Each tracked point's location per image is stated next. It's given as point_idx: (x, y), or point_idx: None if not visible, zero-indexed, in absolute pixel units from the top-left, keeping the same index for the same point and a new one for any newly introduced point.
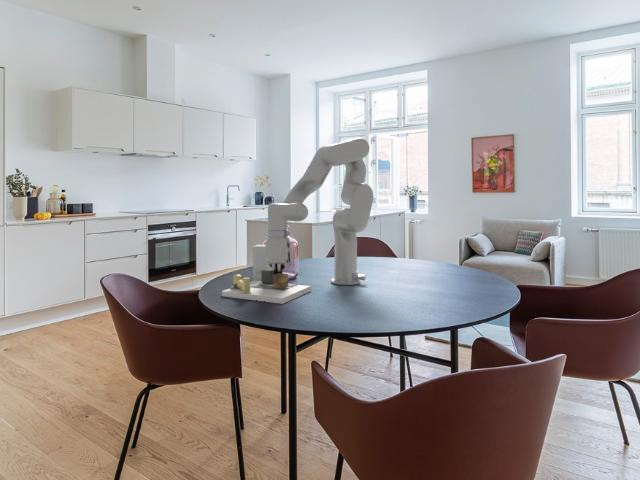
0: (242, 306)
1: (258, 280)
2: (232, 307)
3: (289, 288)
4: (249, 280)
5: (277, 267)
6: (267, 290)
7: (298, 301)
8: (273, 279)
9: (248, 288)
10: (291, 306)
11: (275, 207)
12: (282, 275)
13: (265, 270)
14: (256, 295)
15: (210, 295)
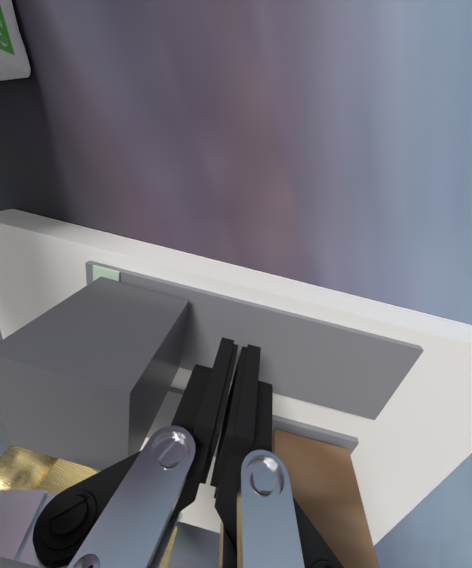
0: (206, 545)
1: None
2: (181, 549)
3: (357, 439)
4: None
5: (181, 486)
6: None
7: (412, 517)
8: (177, 338)
9: (165, 555)
10: (383, 559)
11: None
12: None
13: (66, 459)
14: (216, 529)
15: (7, 445)
